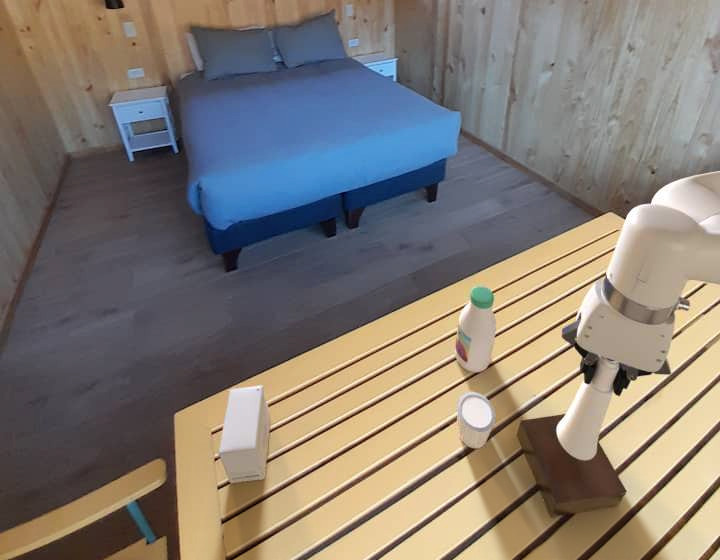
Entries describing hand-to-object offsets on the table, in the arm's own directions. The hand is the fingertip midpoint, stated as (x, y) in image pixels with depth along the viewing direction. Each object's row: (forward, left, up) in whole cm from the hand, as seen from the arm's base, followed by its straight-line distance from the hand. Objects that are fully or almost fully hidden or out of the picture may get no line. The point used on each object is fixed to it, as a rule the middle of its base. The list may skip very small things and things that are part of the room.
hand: (601, 379), depth 59 cm
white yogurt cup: (+16, +1, -26) cm, 31 cm away
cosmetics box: (+53, +21, -26) cm, 63 cm away
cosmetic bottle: (0, 0, -17) cm, 17 cm away
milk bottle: (+19, -14, -26) cm, 35 cm away
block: (0, 0, -26) cm, 26 cm away
